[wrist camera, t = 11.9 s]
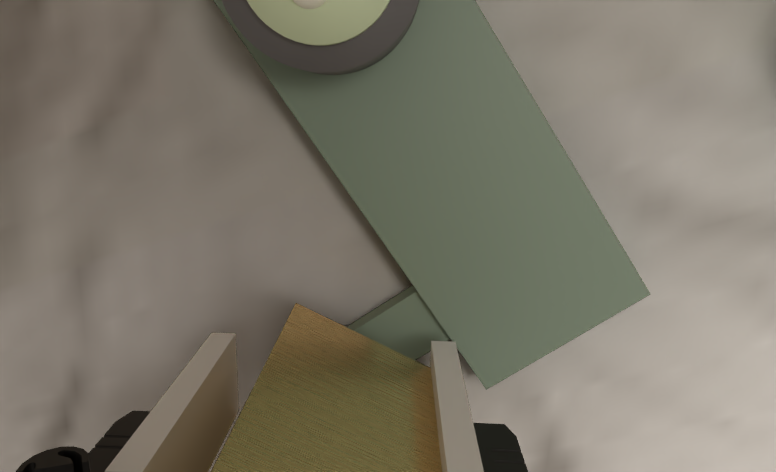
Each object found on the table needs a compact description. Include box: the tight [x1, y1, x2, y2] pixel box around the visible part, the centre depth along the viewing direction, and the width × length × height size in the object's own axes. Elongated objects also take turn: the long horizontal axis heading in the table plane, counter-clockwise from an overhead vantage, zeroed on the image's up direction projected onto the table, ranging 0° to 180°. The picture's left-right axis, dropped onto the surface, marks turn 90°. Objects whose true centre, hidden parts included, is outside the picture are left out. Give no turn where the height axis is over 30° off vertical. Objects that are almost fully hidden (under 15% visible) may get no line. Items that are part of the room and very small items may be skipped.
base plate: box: [214, 0, 650, 390], centre depth 15 cm, size 12×26×4 cm, turn 34°
